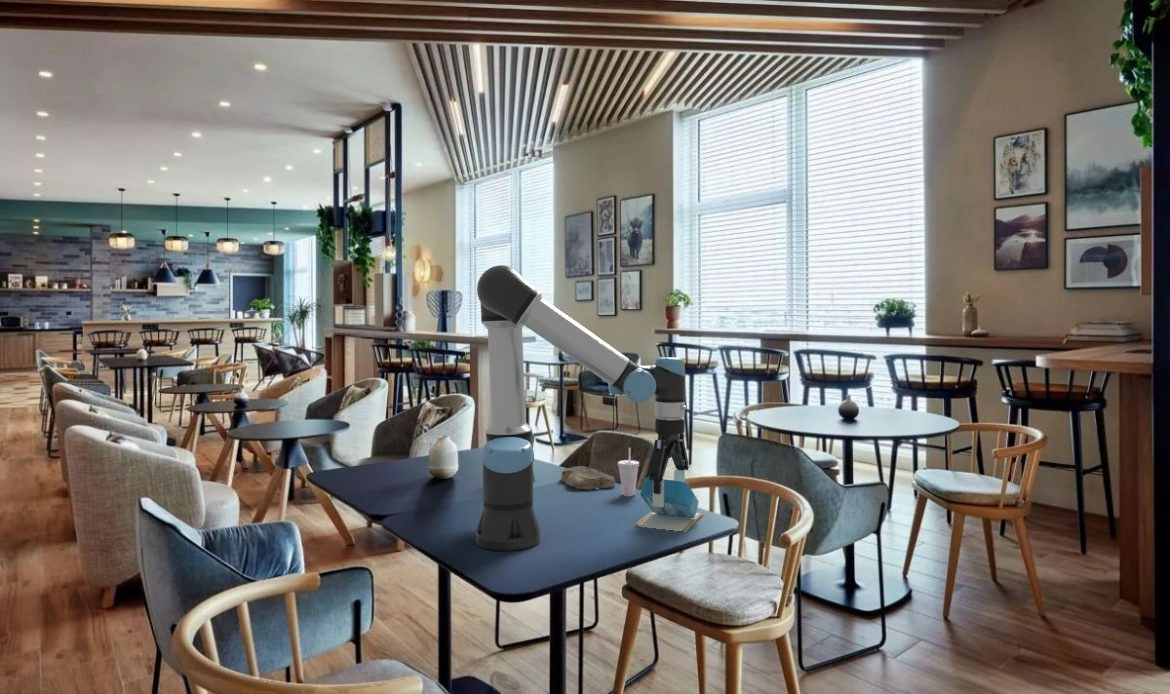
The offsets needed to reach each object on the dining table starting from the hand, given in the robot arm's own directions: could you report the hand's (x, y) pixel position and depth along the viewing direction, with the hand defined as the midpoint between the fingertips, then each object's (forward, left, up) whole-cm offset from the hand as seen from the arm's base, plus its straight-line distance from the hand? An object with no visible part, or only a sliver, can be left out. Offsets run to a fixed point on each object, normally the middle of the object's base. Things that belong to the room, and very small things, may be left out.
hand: (669, 500), depth 185 cm
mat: (0, 0, -5) cm, 5 cm away
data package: (-1, -6, +1) cm, 7 cm away
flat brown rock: (+30, +38, -6) cm, 49 cm away
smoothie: (+21, +19, -6) cm, 29 cm away
